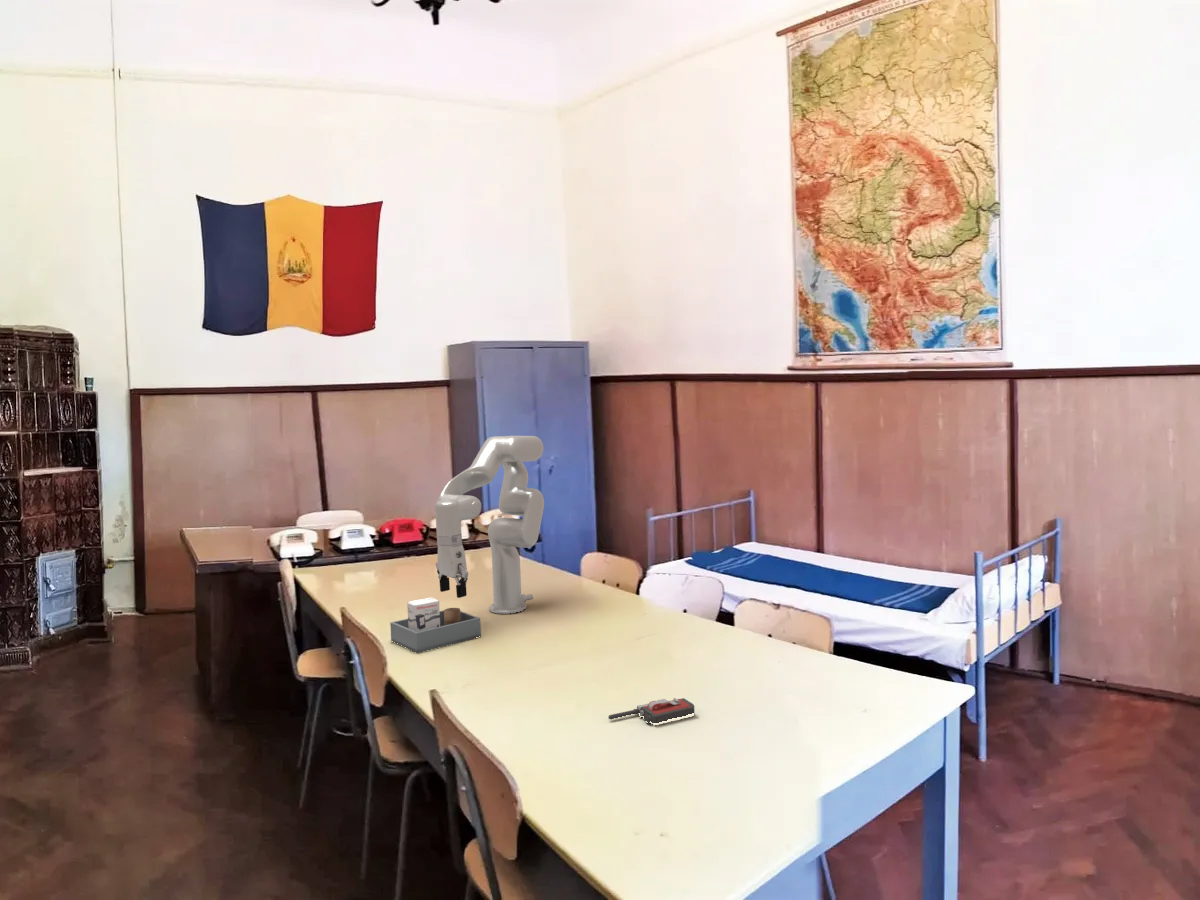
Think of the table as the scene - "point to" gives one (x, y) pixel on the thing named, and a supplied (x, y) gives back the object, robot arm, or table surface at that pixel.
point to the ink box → (423, 614)
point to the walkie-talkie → (660, 710)
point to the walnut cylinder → (452, 616)
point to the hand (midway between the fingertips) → (453, 593)
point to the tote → (436, 633)
